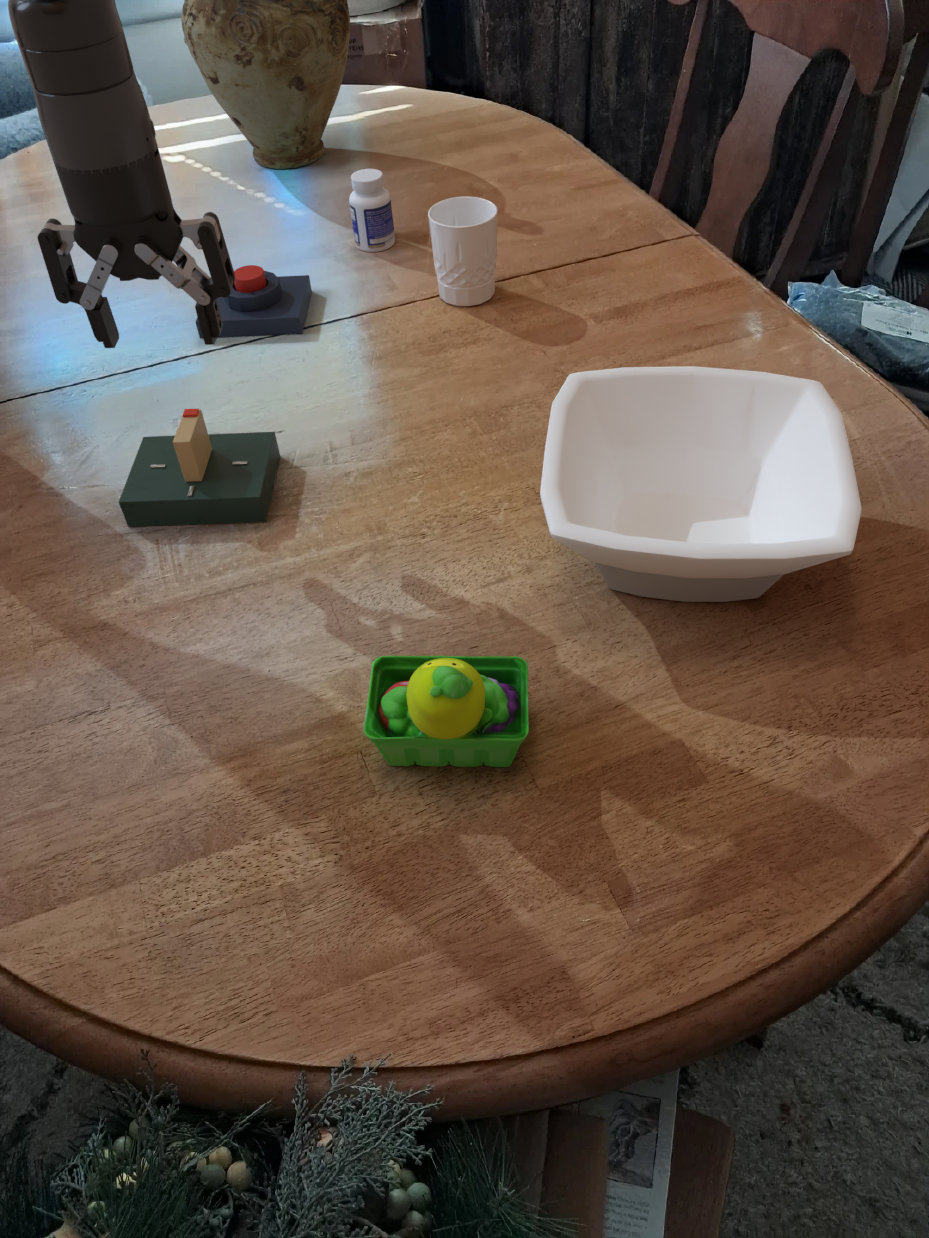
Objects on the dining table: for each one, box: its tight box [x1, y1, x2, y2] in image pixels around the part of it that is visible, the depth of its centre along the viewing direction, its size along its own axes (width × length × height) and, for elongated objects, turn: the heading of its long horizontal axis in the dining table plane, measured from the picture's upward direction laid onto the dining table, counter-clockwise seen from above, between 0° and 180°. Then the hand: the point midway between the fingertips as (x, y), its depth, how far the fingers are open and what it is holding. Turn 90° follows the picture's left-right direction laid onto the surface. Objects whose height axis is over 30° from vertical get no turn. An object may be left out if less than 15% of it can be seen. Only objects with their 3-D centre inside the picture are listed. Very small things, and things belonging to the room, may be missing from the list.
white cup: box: [427, 195, 498, 307], centre depth 116 cm, size 8×8×10 cm
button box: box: [195, 270, 313, 340], centre depth 117 cm, size 12×10×4 cm
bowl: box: [539, 365, 863, 603], centre depth 83 cm, size 24×25×10 cm
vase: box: [180, 0, 351, 170], centre depth 140 cm, size 23×23×30 cm
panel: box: [118, 431, 281, 528], centre depth 94 cm, size 13×10×3 cm
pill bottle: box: [348, 168, 396, 253], centre depth 126 cm, size 5×5×9 cm
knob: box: [173, 408, 212, 482], centre depth 91 cm, size 5×2×5 cm, turn 179°
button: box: [234, 264, 267, 293], centre depth 115 cm, size 4×4×2 cm
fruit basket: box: [362, 655, 530, 768], centre depth 69 cm, size 11×9×11 cm
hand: (162, 341), depth 84 cm, fingers open, 8 cm apart
